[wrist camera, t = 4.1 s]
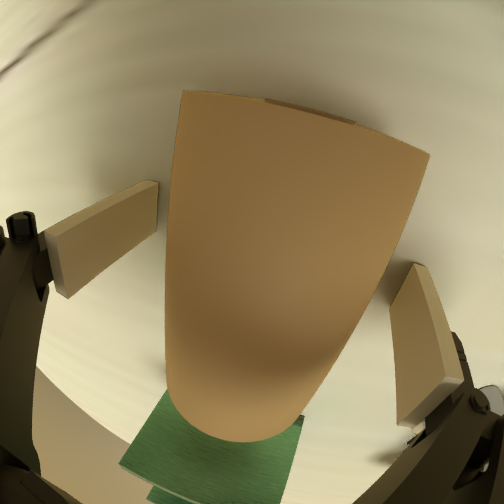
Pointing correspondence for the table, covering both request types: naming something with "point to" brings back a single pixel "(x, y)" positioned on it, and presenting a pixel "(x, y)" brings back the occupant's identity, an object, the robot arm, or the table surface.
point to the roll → (272, 254)
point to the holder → (208, 462)
